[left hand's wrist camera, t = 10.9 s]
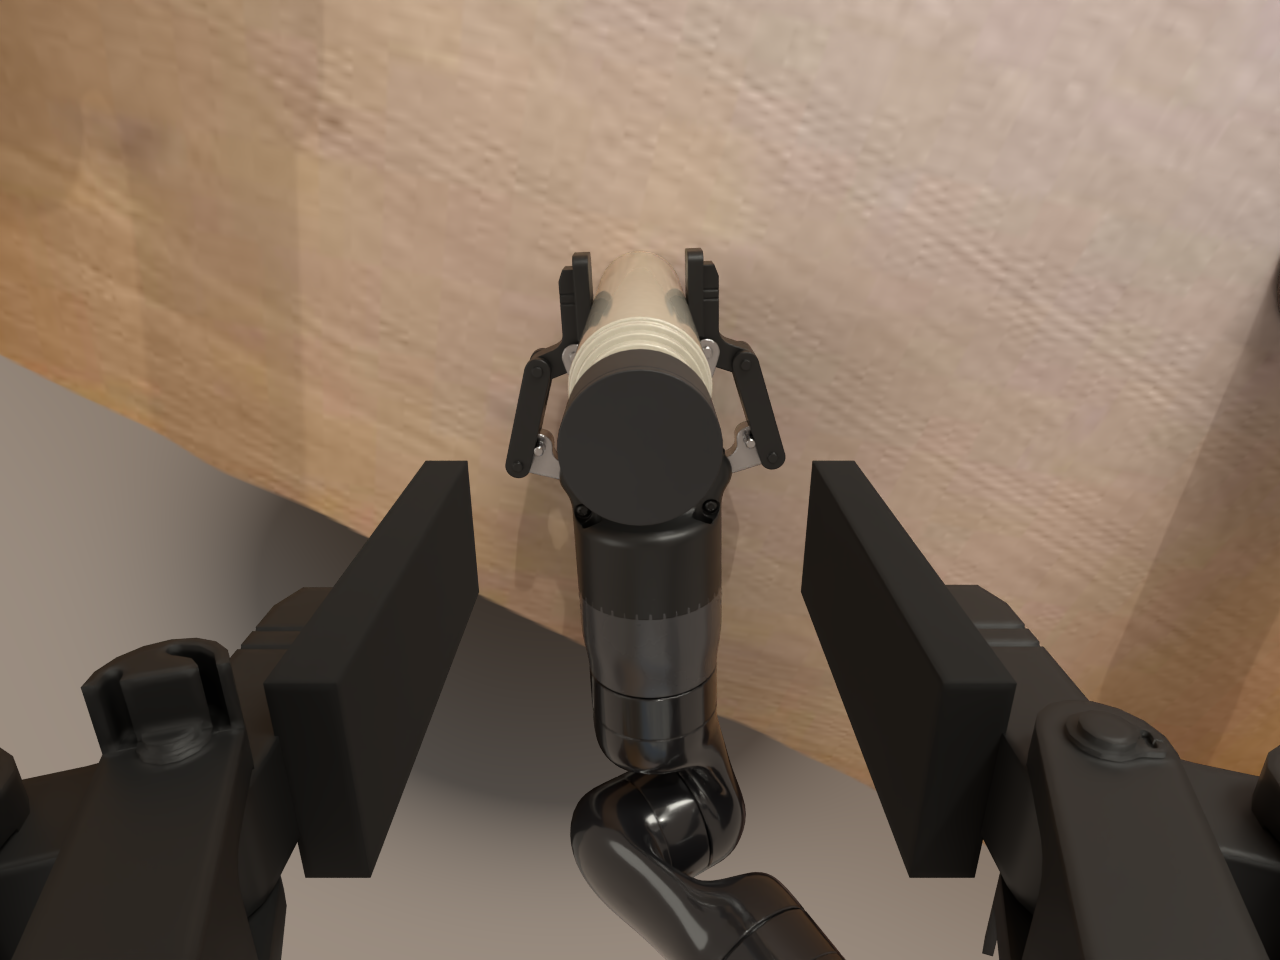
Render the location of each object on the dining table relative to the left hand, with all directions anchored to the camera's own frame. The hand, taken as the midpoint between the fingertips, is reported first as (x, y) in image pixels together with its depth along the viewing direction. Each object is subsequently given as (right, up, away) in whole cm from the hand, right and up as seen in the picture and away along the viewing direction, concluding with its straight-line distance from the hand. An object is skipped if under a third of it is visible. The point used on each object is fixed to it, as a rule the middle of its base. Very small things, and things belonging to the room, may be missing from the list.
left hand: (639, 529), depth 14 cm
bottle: (0, +11, +27) cm, 29 cm away
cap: (0, +2, +4) cm, 5 cm away
